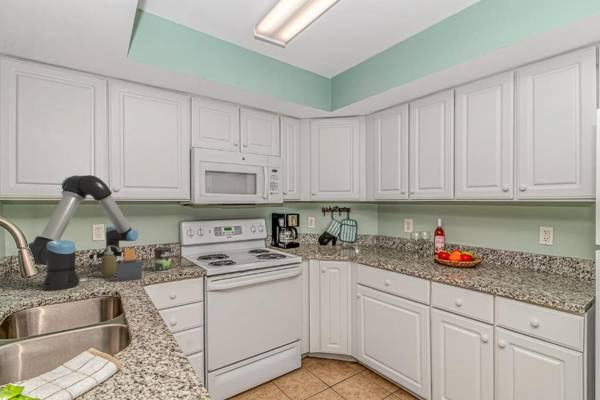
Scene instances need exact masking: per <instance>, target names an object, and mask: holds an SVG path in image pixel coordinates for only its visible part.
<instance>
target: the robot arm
mask: <svg viewBox="0 0 600 400" xmlns="http://www.w3.org/2000/svg"><path fill="white" fill-rule="evenodd" d="M70 176H71V177H70ZM70 176H67V177H68V178H67V177H66V178H65V180H64V179H63V181H62V182H63V183H62V182H61V185H62V187H61V199H60V201H59V203H58V204H57V206H56V208H55V210H54V212H52V214H51V217H50V218H49V220H48V222H47V224H46V226H45V227H44V229H43V230H42V233H41V234H39V235H36V236H35V238H34V239H33V242H30V243H27V245H29V248H30V250H31V252H32V254H33V257H34V260H35V264H36V265H35V266H46V274H45V278H44V280H43V282H42V286H41V287H42V290H43V291H58V290H59V291H60V290H65V289H70V288H74V287H77V286H79V285H80V278H79V276H78V273H77V271H76V250H77V249H76V244H75V242H73V241H71V240H65V239H64V240H61V239H62V237H63V235H64V233H65V230H67V227H68V225H69V223H70V222H71V220H72V218H73V216H74V214H75V212H76V211H77V209H78V206H79V205H80V203H82V202H84V201H85V200H86V198H87V196H91V197H92V198H93V199H94V201H96V202H98V203H99V205H100V207H101V208H102V210H103V211H104V213H105V214H106V216H107V217H108V219H109V220H110V222H111V224H112V225H110V226H106V229H105V249H104V251H102V252H100V251H97V252H95V253H91V254H89V258H88V259H89V260H92V261H93V262H95V261H97V259H100V258H101V259H102V257H103V256H105V255H104V252H106V251H107V246H110V248H111V252H113V255H114V256H115V258H116V257H121V259H122V260H124V258H125V250H123V249H122V250H120V242H134V241H135V242H136V241H137V240H138V238H139V232H138V230H136V229H133V228H132V227H131V226H130V224H129V222H128V221H127V219H126V218H125V216H124V214H123V212H122V211H121V209H120V208H119V206H118V205H117V202H116V201H115V199H114V197H113V196H112V194H113V192H112V191H111V189H110V188H109V186H108V185H107V184H106V183H105V181H103V180H102V179H101V178H99V177H97V176H95V175H92V174H91V175H90V174H89V175H70ZM62 189H63V191H62Z"/></svg>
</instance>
